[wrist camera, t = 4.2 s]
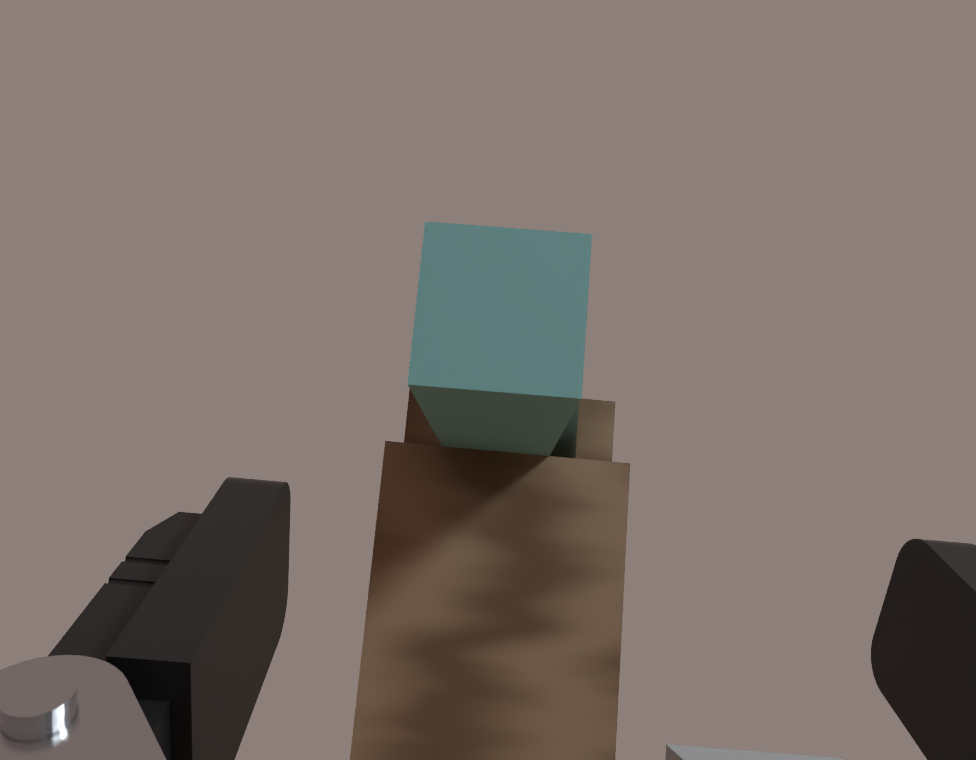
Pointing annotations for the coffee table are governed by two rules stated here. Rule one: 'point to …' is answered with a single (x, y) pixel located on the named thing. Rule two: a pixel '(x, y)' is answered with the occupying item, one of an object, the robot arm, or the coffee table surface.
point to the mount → (495, 599)
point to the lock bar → (500, 335)
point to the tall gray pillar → (731, 754)
